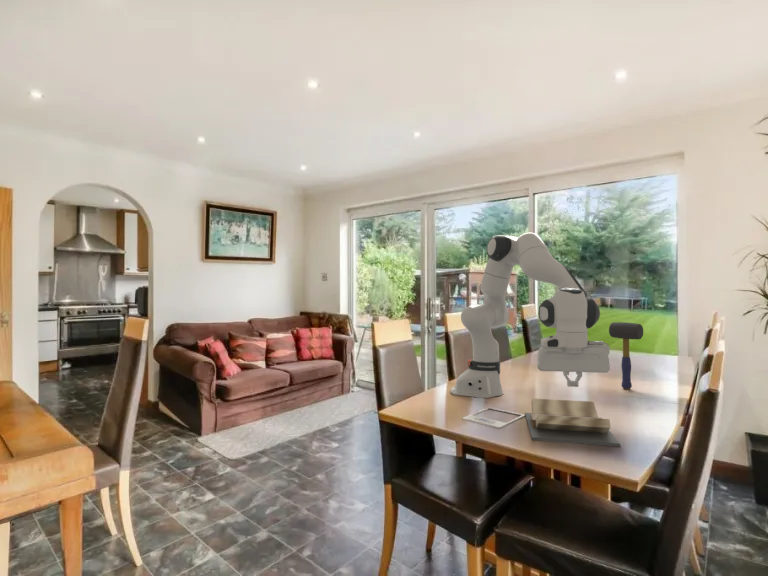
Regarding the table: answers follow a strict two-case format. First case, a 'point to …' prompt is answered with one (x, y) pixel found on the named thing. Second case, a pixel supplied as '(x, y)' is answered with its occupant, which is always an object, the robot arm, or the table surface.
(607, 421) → the ash plank near
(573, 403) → the ash plank far
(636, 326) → the rubber mallet
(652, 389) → the table surface
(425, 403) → the table surface
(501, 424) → the photo frame
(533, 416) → the striped wooden plank
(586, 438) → the underlay mat
